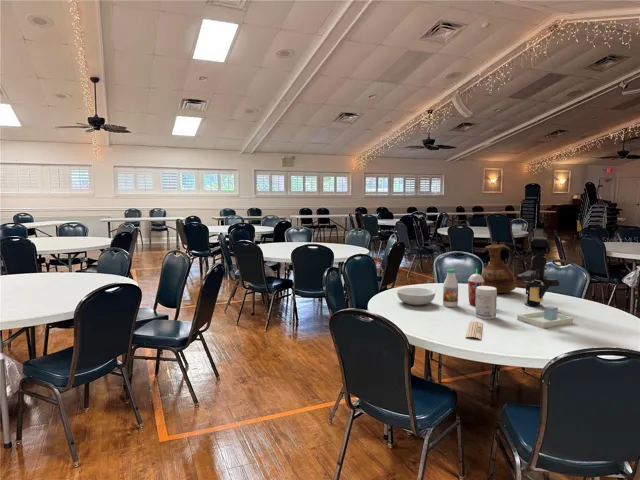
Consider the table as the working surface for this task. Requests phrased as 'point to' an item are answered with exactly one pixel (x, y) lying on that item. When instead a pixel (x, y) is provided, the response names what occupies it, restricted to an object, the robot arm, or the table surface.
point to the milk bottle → (450, 289)
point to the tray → (539, 320)
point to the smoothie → (474, 286)
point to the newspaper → (474, 329)
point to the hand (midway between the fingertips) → (536, 297)
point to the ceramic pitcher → (499, 270)
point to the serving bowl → (416, 295)
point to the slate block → (550, 313)
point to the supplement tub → (486, 302)
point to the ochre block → (535, 294)
